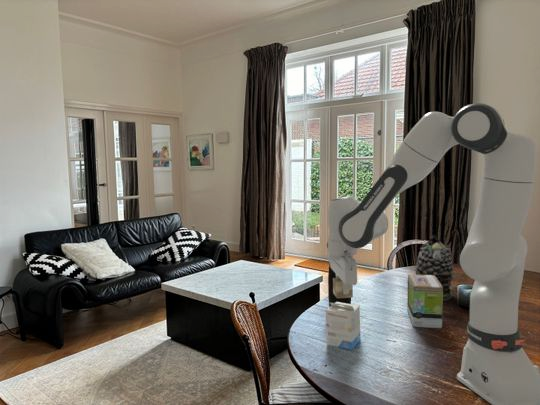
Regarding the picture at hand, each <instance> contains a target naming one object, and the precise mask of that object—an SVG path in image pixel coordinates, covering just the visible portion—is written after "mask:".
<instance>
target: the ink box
mask: <svg viewBox="0 0 540 405" xmlns="http://www.w3.org/2000/svg"><path fill="white" fill-rule="evenodd" d="M330 304H331V306H330V307H328V308H327V309H325V321H326V322H325V323H326V345H327V346H331V347H336V348H341V349H346V350H351V351H353V350H354V348H356V346H357V345H358V344H359V342H360V341H361V317H360V316H361V312H360V308H361V307H360V305H357V304H352V303H351V304H346V303H341V302H335V303H330Z"/></svg>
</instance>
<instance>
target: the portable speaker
mask: <svg viewBox="0 0 540 405" xmlns="http://www.w3.org/2000/svg"><path fill="white" fill-rule="evenodd" d="M327 274H328V275H327V285H328V286H327V288H328V290H327V292H328V293H327V294H328V296H327V299H328V306H329V307H330V306H331V304H330V303H335V302H341V303H346V304H352V298H336V296H335V295H334V293H333V278H336V273H335V272H334V271H333V270H332V269H331V267H330V262H328V273H327ZM329 307H328V308H329Z"/></svg>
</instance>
